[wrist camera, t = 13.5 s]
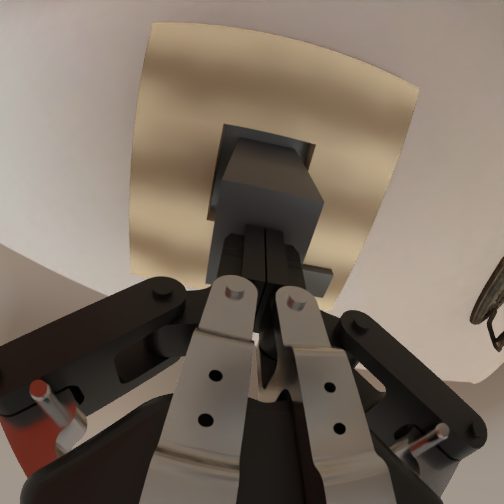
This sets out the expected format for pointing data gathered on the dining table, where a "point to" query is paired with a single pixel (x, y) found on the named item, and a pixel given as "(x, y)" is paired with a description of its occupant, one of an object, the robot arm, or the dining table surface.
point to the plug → (265, 198)
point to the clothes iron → (491, 304)
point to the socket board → (261, 129)
